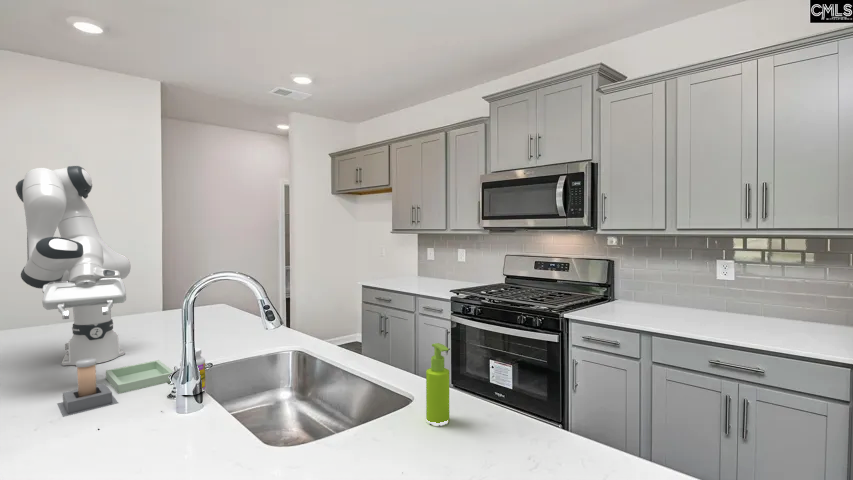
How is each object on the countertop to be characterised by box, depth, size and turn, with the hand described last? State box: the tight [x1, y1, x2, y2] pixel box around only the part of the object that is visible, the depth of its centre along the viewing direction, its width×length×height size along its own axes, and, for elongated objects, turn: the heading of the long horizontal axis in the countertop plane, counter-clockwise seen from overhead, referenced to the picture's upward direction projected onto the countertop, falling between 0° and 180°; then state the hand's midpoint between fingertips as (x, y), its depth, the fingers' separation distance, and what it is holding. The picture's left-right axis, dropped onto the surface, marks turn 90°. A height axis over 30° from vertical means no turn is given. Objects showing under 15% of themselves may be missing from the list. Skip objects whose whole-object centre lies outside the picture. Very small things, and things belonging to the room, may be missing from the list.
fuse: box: [75, 358, 97, 398], centre depth 122 cm, size 4×4×12 cm
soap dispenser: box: [425, 342, 450, 423], centre depth 112 cm, size 6×7×20 cm
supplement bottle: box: [179, 347, 207, 392], centre depth 132 cm, size 7×7×13 cm
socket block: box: [56, 383, 119, 418], centre depth 123 cm, size 12×12×4 cm
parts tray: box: [105, 359, 174, 394], centre depth 141 cm, size 18×15×4 cm
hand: (86, 315), depth 132 cm, fingers open, 8 cm apart
